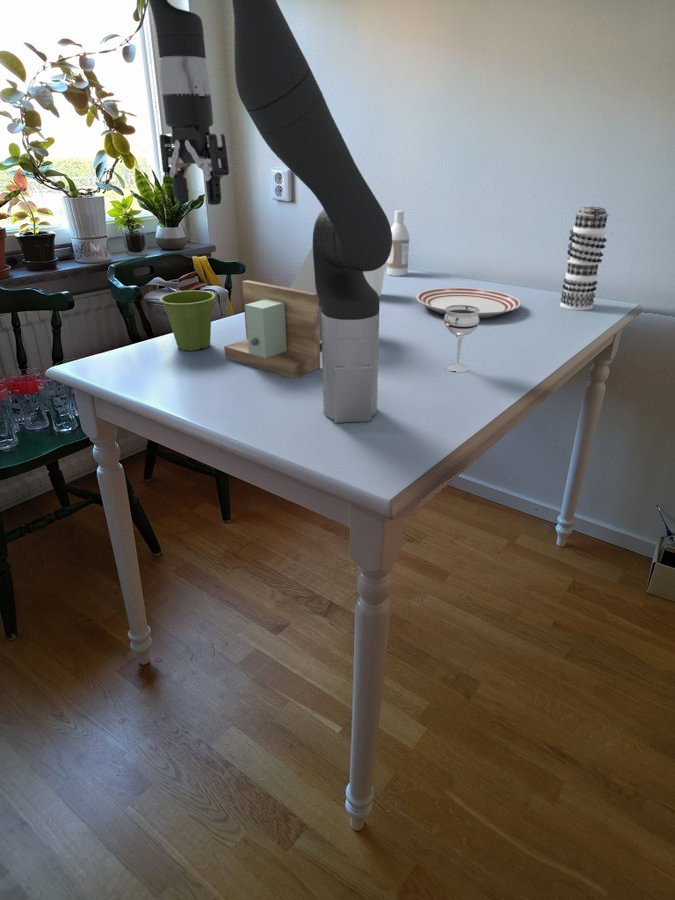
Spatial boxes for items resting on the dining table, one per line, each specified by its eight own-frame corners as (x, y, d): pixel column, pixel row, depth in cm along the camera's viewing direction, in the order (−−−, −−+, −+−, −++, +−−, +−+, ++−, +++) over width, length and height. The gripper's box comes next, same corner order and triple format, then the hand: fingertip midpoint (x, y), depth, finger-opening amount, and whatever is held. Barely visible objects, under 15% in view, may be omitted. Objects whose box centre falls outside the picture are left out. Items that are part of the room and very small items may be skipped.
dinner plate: (506, 297, 176) (507, 285, 174) (531, 323, 152) (533, 310, 150) (411, 297, 177) (412, 286, 175) (421, 324, 152) (421, 311, 151)
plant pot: (164, 341, 141) (157, 292, 135) (215, 336, 144) (210, 288, 139) (169, 357, 131) (161, 305, 125) (224, 351, 134) (219, 300, 129)
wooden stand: (293, 378, 119) (289, 301, 112) (225, 357, 130) (218, 286, 123) (320, 367, 124) (318, 293, 117) (252, 348, 136) (247, 280, 129)
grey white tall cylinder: (554, 301, 170) (569, 205, 158) (588, 302, 169) (606, 205, 158) (562, 310, 162) (578, 209, 150) (598, 310, 161) (617, 209, 150)
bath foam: (382, 273, 206) (384, 210, 197) (400, 271, 209) (402, 209, 199) (393, 277, 200) (395, 212, 191) (411, 275, 203) (414, 211, 194)
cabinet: (262, 359, 121) (259, 309, 117) (245, 354, 124) (241, 305, 120) (286, 350, 126) (284, 302, 121) (269, 346, 129) (267, 298, 124)
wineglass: (471, 362, 126) (477, 304, 121) (477, 374, 120) (483, 313, 114) (438, 362, 126) (442, 304, 121) (442, 374, 120) (447, 314, 115)
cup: (349, 293, 181) (349, 251, 175) (378, 291, 183) (379, 249, 177) (359, 300, 173) (360, 257, 168) (389, 298, 175) (390, 255, 170)
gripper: (139, 93, 98) (154, 202, 105) (196, 89, 89) (208, 207, 97) (177, 95, 103) (189, 198, 110) (234, 91, 95) (243, 203, 102)
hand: (198, 202), depth 104 cm, fingers open, 8 cm apart
